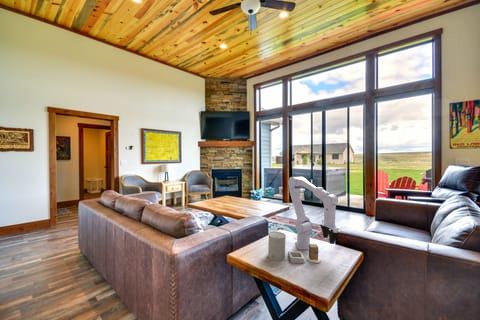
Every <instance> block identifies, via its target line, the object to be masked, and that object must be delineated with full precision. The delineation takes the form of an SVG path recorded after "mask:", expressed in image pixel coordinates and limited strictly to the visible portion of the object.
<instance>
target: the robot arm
mask: <svg viewBox="0 0 480 320" xmlns="http://www.w3.org/2000/svg"><path fill="white" fill-rule="evenodd" d="M287 184H288V187H289V188H288V189H289V190H288V191H289V195H290V197H291V202H292V205H293V208H294V212H295V216H296V219H295V221H294V225H295V230H296V232H297V233H296V241H295V245H296V247H297V249H298V250H308V251H309V244H311V243H310V242H311V233H312V230H313V228H314V226H313V223H312V222H311V220H310V218H309V217H308V216H307V215H306V212H305V208H304V206H303V203H302V200H301V196H300V191H301V189H302V188H303V187H304V188H306V189H308V190H309V191H311V193H313V195H314V196H315V197H316V198H317V199H319V200H321V202H322V204H323V207H324V209H323V219H322V220H321V224H319V227H320V229H321V232H322V236H323V238H324V239H328V238H329V240H328V241H329V244H330V245H334V244H335V243H336V239H337V238H338V236H339V234H340V231H338V229H339V228H337V226H336V211H337V210H336V209H337V207H336V206H337V204H338V203H339V199H338V196H337V194H335V193H330V192H329V191H326V190H325V189H324V187H322V186H321V187H320V186H318V187H316V186H315V185H314V184H313V183H312V182H310V181H309V180H308V179H307V178H305V177H304V176H290V177H289V179H288V181H287Z"/></svg>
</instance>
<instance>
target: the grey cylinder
mask: <svg viewBox="0 0 480 320" xmlns="http://www.w3.org/2000/svg"><path fill="white" fill-rule="evenodd" d="M286 237H287V236H286V233H284V232H281V231H271V232H269V233H268V247H267V249H268V250H267V251H268V252H267V257H268V258H269V259H270V260H273V261H277V262H278V261H283V260H285V259H286Z"/></svg>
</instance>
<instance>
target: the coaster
mask: <svg viewBox="0 0 480 320" xmlns="http://www.w3.org/2000/svg"><path fill="white" fill-rule="evenodd" d="M305 258H306V260H307V261H308V262H310V263H313V264H320V263H321V262H322V260H323V259H322V258H321V257H320V256H319V255H318V260H310V258H309V254H308V255H306V257H305Z"/></svg>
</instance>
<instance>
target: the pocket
mask: <svg viewBox="0 0 480 320" xmlns="http://www.w3.org/2000/svg"><path fill="white" fill-rule="evenodd" d="M287 253H288V255H287V256H288V258H289V262H290V263H296V264H297V263H298V264H304V263H305V256H304V255H303V253H302V252H301V251H288V252H287Z"/></svg>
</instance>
